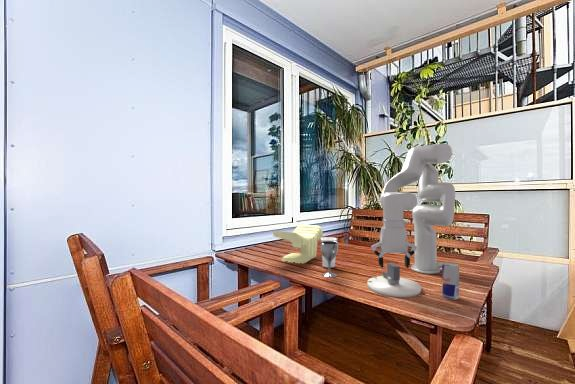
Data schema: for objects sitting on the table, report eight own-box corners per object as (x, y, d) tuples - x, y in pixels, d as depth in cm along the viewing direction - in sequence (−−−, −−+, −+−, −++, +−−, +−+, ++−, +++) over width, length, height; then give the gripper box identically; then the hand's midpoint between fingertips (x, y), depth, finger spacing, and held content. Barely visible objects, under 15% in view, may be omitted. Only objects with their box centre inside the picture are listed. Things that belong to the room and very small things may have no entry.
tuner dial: (411, 280, 120) (411, 276, 120) (429, 298, 100) (429, 293, 100) (364, 278, 123) (364, 274, 123) (371, 296, 103) (371, 291, 103)
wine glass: (334, 278, 123) (333, 244, 123) (317, 275, 127) (317, 243, 127) (340, 274, 130) (340, 241, 130) (325, 271, 134) (324, 240, 134)
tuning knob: (402, 284, 109) (402, 266, 108) (391, 285, 108) (391, 267, 108) (388, 274, 121) (388, 258, 121) (378, 275, 121) (378, 259, 121)
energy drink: (438, 294, 104) (438, 262, 103) (452, 294, 104) (452, 262, 104) (448, 300, 98) (448, 266, 98) (462, 299, 99) (462, 266, 99)
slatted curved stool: (300, 268, 139) (300, 233, 139) (273, 264, 147) (273, 230, 147) (322, 255, 166) (322, 225, 166) (298, 252, 173) (298, 224, 173)
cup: (340, 267, 141) (340, 238, 141) (328, 269, 137) (328, 240, 137) (329, 263, 148) (329, 236, 148) (317, 266, 143) (317, 238, 143)
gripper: (413, 222, 114) (413, 264, 114) (369, 223, 116) (370, 264, 117) (419, 225, 106) (420, 270, 107) (372, 226, 109) (373, 269, 109)
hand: (394, 266), depth 112 cm, fingers open, 9 cm apart
